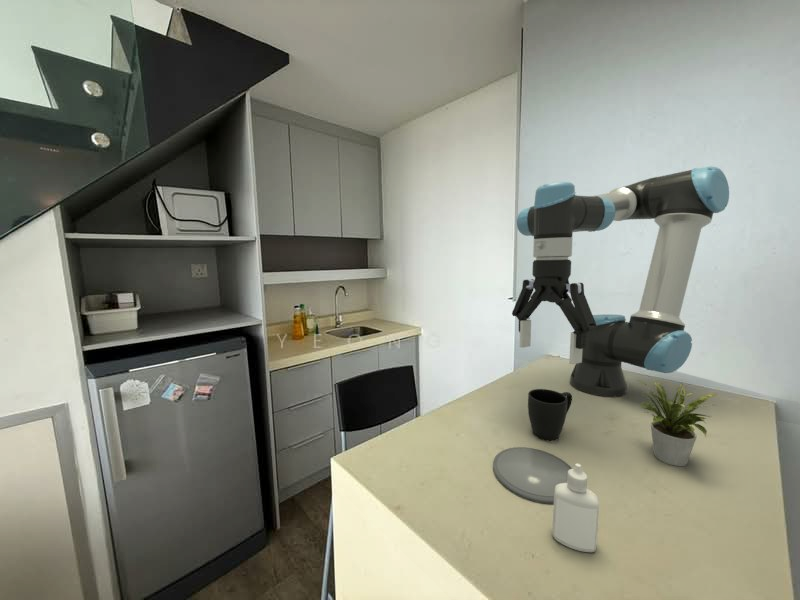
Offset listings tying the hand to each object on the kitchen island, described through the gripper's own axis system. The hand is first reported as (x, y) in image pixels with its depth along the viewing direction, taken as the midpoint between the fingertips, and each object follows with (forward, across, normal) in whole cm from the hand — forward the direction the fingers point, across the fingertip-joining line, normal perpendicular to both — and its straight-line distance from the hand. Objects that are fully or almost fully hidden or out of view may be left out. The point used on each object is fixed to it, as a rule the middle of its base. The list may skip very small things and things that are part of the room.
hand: (548, 354), depth 72 cm
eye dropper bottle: (+19, +22, -19) cm, 35 cm away
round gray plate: (+19, +9, -13) cm, 25 cm away
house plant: (+20, +16, +15) cm, 30 cm away
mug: (+20, 0, +2) cm, 20 cm away
